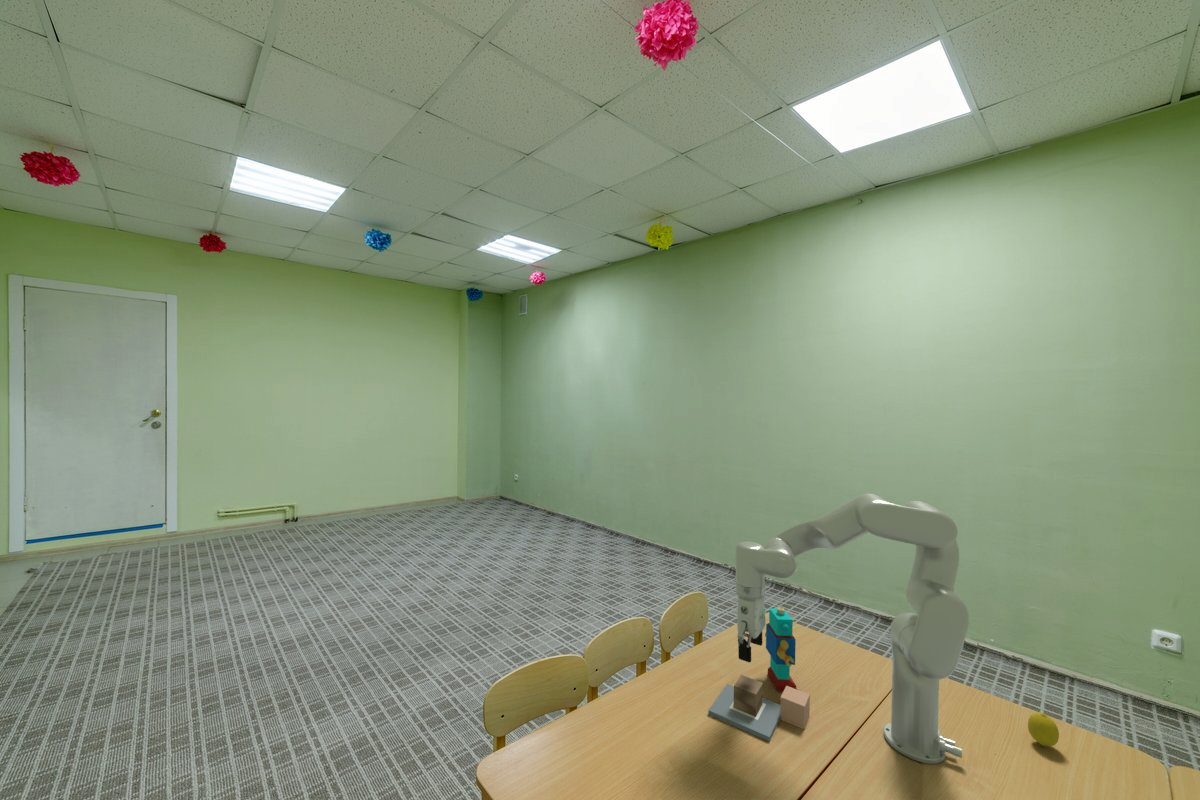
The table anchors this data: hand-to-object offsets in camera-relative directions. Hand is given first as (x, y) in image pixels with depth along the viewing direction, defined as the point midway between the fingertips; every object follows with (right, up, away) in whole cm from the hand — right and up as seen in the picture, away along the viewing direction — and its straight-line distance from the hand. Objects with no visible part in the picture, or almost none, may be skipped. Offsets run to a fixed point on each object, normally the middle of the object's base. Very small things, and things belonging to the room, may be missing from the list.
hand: (750, 651), depth 123 cm
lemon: (+69, -18, -11) cm, 72 cm away
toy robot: (+13, -17, +12) cm, 25 cm away
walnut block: (-1, -15, 0) cm, 15 cm away
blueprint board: (-1, -16, -1) cm, 16 cm away
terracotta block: (+11, -17, -2) cm, 20 cm away
